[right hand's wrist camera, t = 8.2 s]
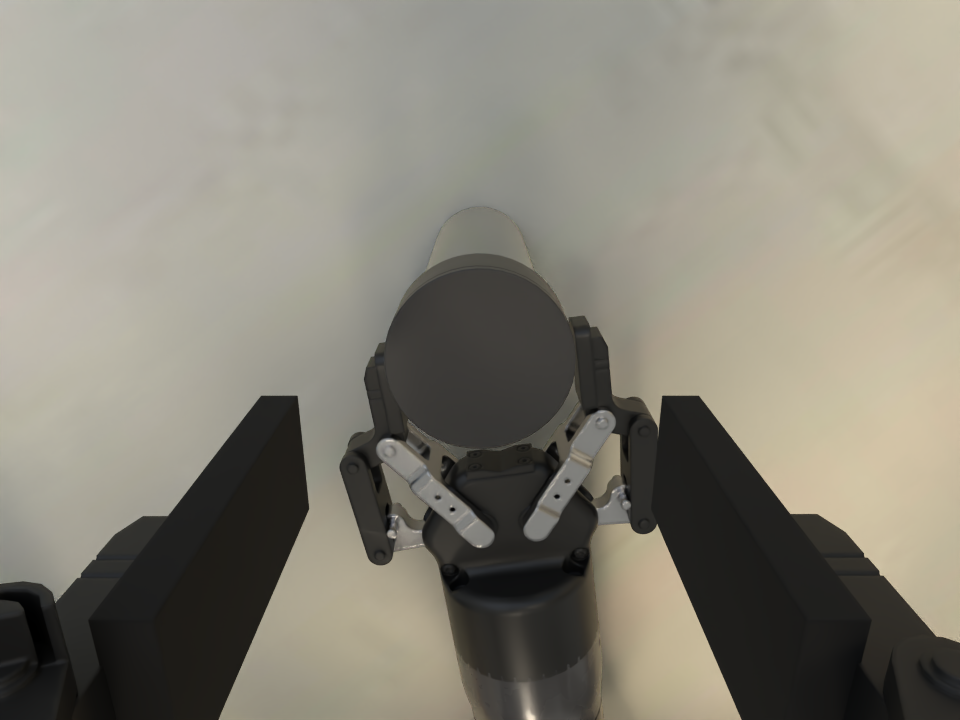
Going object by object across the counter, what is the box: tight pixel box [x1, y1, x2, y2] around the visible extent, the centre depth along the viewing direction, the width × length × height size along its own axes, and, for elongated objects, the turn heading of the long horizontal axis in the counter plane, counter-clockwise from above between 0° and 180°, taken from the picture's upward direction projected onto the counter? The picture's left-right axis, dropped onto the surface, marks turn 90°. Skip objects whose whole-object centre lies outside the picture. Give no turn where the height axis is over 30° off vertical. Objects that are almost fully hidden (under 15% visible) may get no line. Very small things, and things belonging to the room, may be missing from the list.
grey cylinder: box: [425, 207, 535, 272], centre depth 27 cm, size 5×5×16 cm
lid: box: [384, 253, 576, 449], centre depth 20 cm, size 6×6×2 cm
